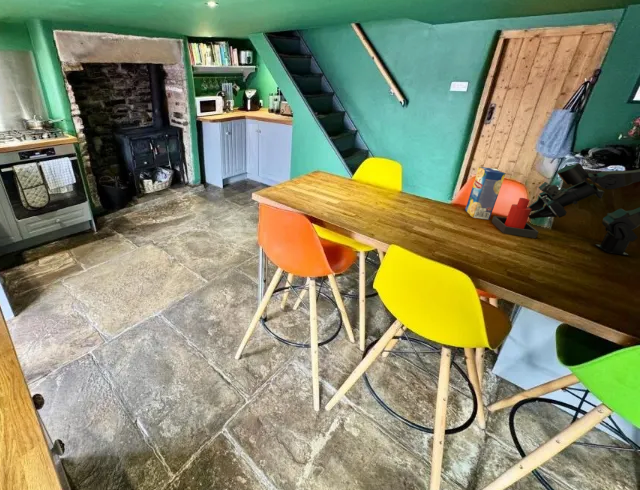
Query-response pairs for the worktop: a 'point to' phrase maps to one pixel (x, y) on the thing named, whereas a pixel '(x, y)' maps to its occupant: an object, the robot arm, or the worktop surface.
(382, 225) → the worktop surface
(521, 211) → the ketchup bottle
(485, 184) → the cracker box
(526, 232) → the tray
